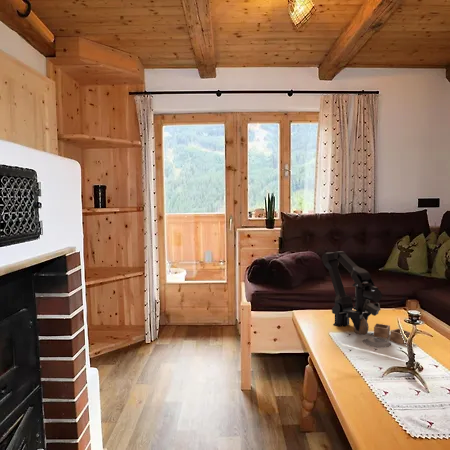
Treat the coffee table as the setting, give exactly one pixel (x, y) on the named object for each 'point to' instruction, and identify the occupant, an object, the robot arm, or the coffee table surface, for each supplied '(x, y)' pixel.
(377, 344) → the coaster
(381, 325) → the box
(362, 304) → the robot arm
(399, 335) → the box
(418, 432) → the coffee table surface
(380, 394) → the coffee table surface
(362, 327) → the vase
